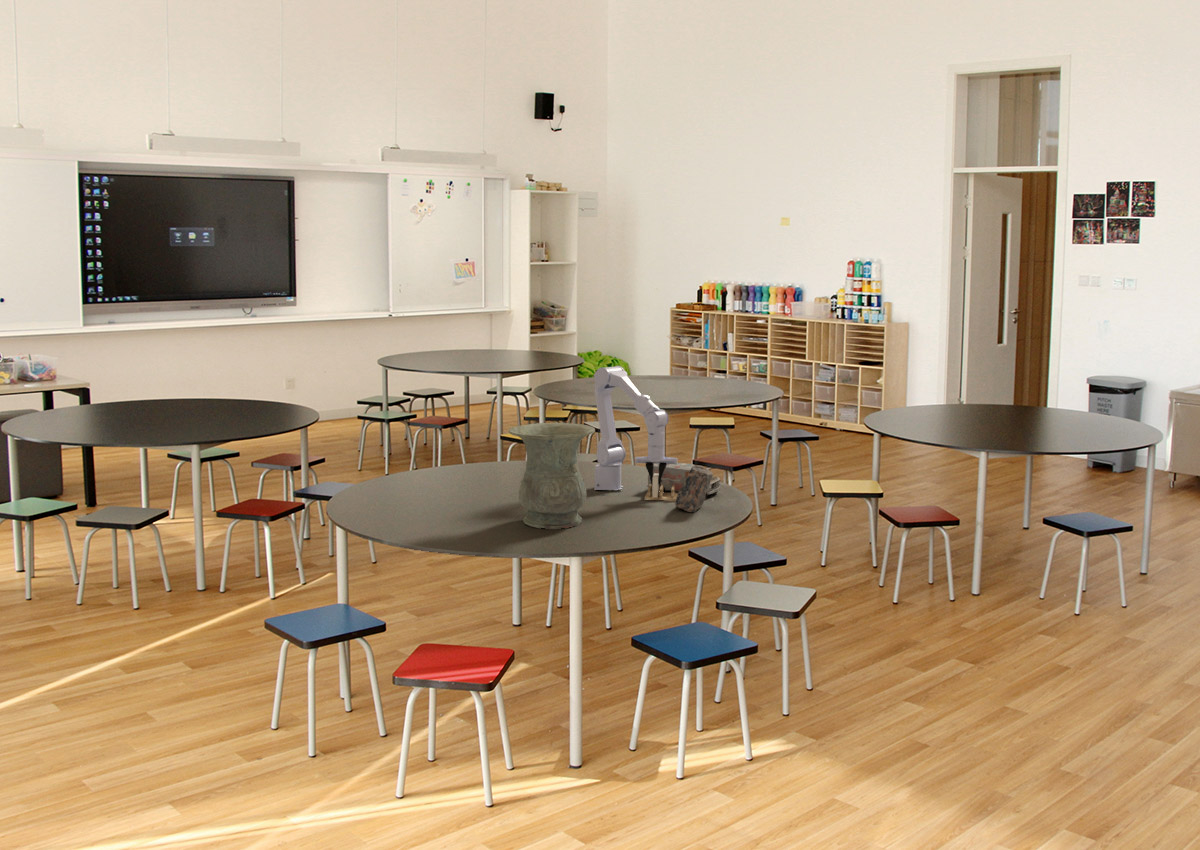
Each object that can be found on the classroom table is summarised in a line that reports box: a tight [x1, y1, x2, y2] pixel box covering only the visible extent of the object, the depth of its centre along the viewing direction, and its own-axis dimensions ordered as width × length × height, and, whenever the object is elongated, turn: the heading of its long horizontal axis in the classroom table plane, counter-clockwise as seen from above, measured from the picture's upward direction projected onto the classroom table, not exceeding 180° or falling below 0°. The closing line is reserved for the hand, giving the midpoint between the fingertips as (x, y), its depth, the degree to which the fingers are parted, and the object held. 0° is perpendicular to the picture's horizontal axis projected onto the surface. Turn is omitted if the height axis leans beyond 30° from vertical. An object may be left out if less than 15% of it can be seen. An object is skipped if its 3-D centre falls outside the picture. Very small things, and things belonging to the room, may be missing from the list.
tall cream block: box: [652, 473, 659, 498], centre depth 388 cm, size 2×7×7 cm, turn 173°
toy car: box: [647, 462, 721, 499], centre depth 397 cm, size 11×25×10 cm, turn 61°
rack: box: [644, 484, 678, 502], centre depth 388 cm, size 11×9×4 cm
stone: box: [674, 464, 714, 513], centre depth 372 cm, size 13×13×15 cm
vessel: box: [508, 422, 596, 530], centre depth 352 cm, size 27×27×30 cm
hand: (655, 484), depth 388 cm, fingers closed on tall cream block, 2 cm apart
